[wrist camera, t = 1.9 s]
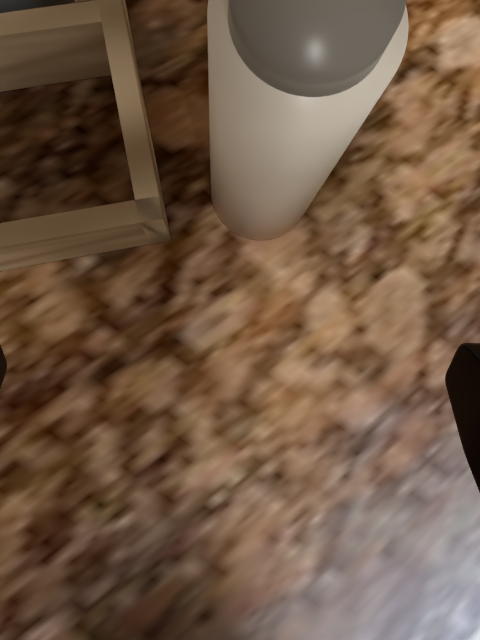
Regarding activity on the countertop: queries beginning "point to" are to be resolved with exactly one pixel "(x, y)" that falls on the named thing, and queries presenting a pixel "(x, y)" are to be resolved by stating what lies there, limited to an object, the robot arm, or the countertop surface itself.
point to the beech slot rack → (120, 61)
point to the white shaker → (291, 99)
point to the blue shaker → (29, 4)
